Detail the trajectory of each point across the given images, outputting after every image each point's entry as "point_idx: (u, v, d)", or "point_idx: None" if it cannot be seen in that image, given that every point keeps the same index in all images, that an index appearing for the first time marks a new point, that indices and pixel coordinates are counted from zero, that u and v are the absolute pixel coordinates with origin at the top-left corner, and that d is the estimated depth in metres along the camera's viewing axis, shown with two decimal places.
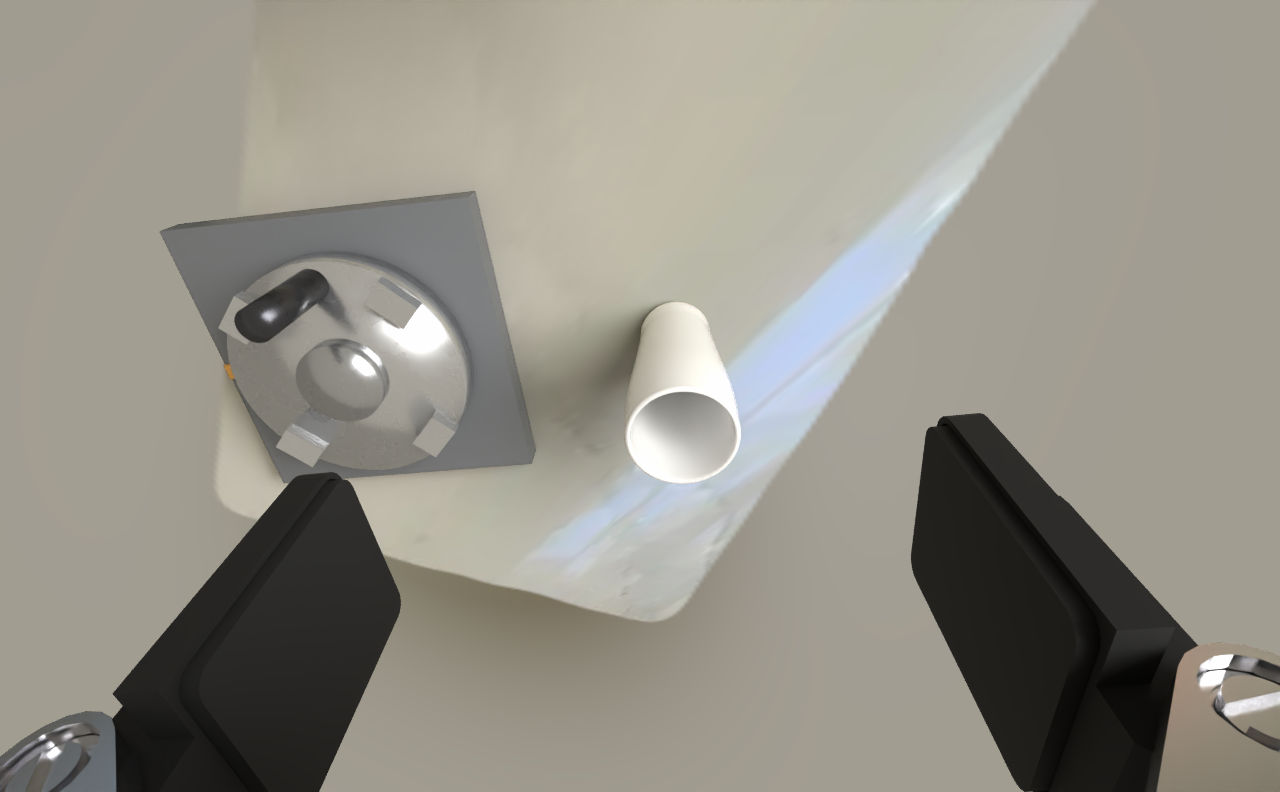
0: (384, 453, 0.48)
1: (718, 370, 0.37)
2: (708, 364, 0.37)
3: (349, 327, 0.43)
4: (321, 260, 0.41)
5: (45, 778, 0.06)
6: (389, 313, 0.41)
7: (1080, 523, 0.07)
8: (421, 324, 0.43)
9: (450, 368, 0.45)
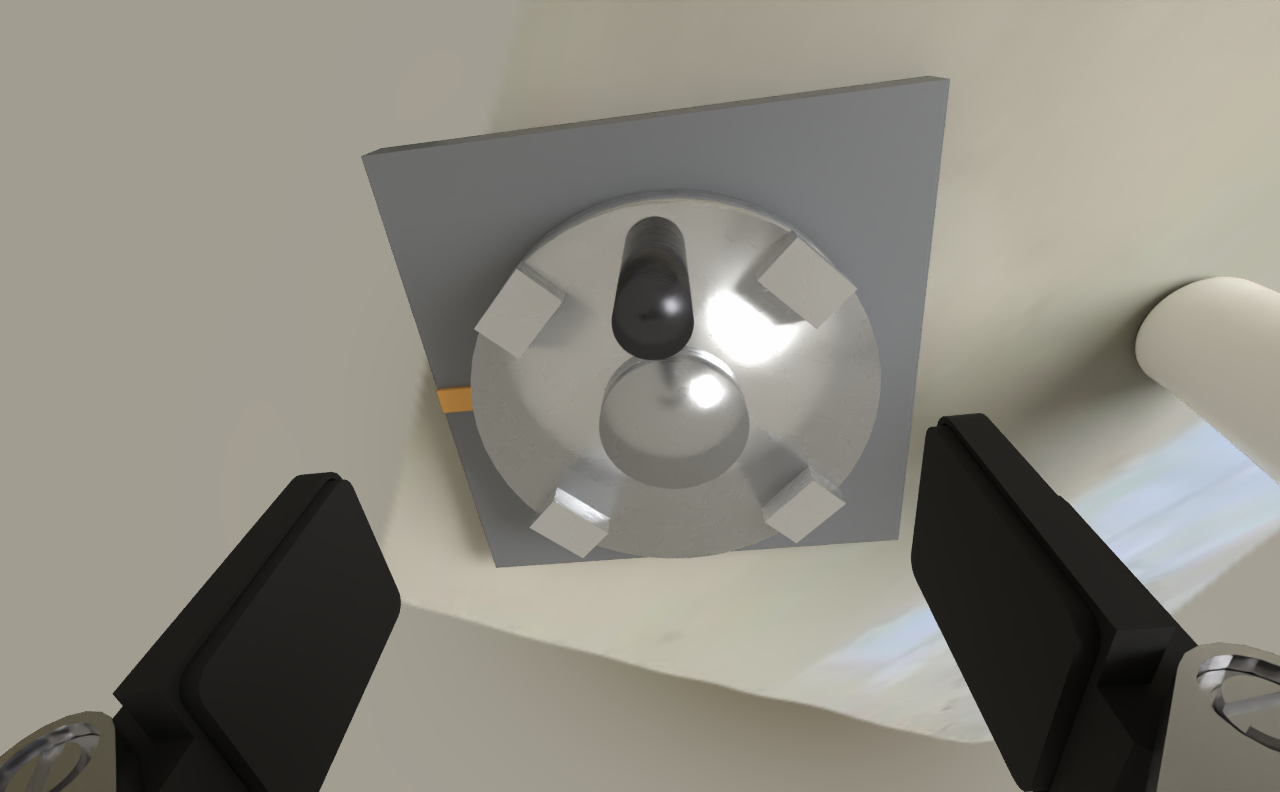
0: (697, 533, 0.29)
1: None
2: None
3: (699, 326, 0.24)
4: (675, 201, 0.22)
5: (45, 778, 0.06)
6: (801, 298, 0.22)
7: (1080, 523, 0.07)
8: (834, 319, 0.24)
9: (859, 396, 0.25)
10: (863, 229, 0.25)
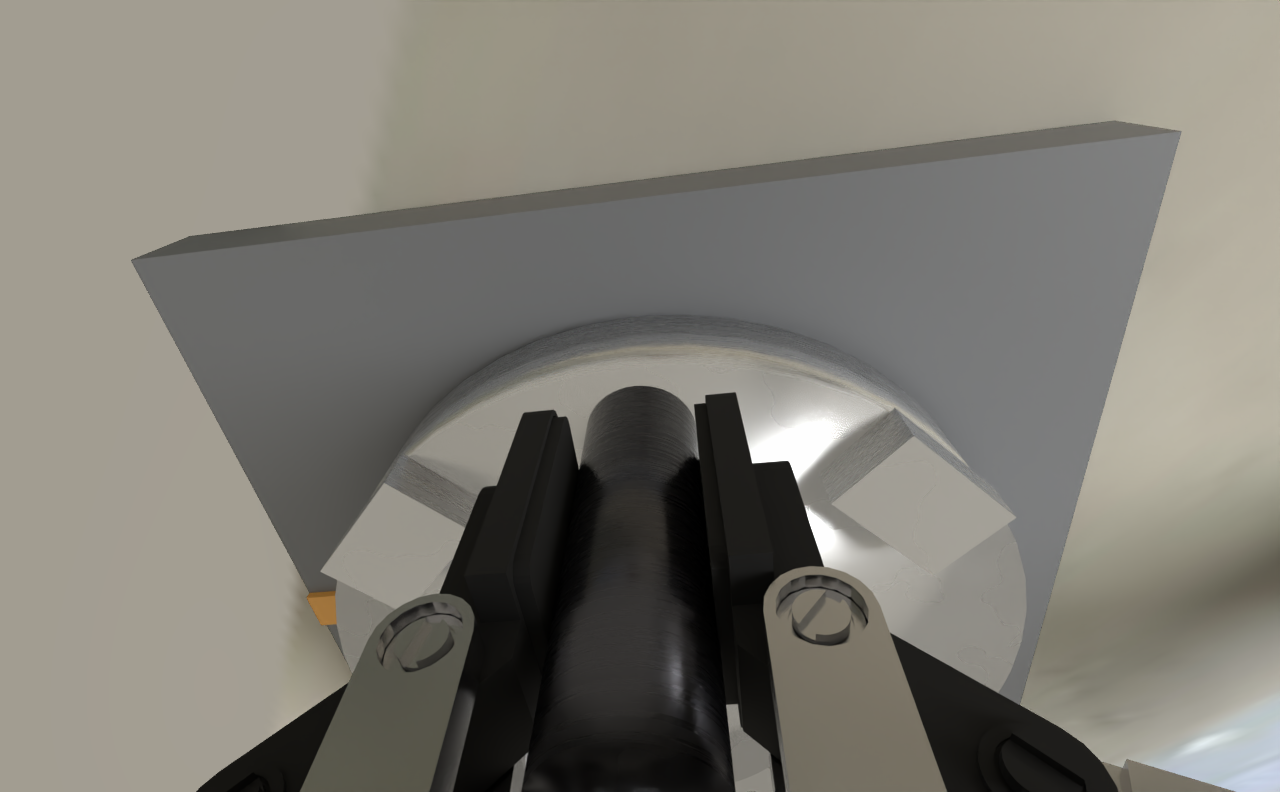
0: None
1: None
2: None
3: None
4: (679, 354, 0.12)
5: (423, 644, 0.07)
6: (910, 532, 0.12)
7: (752, 477, 0.08)
8: None
9: (985, 648, 0.15)
10: (994, 375, 0.15)
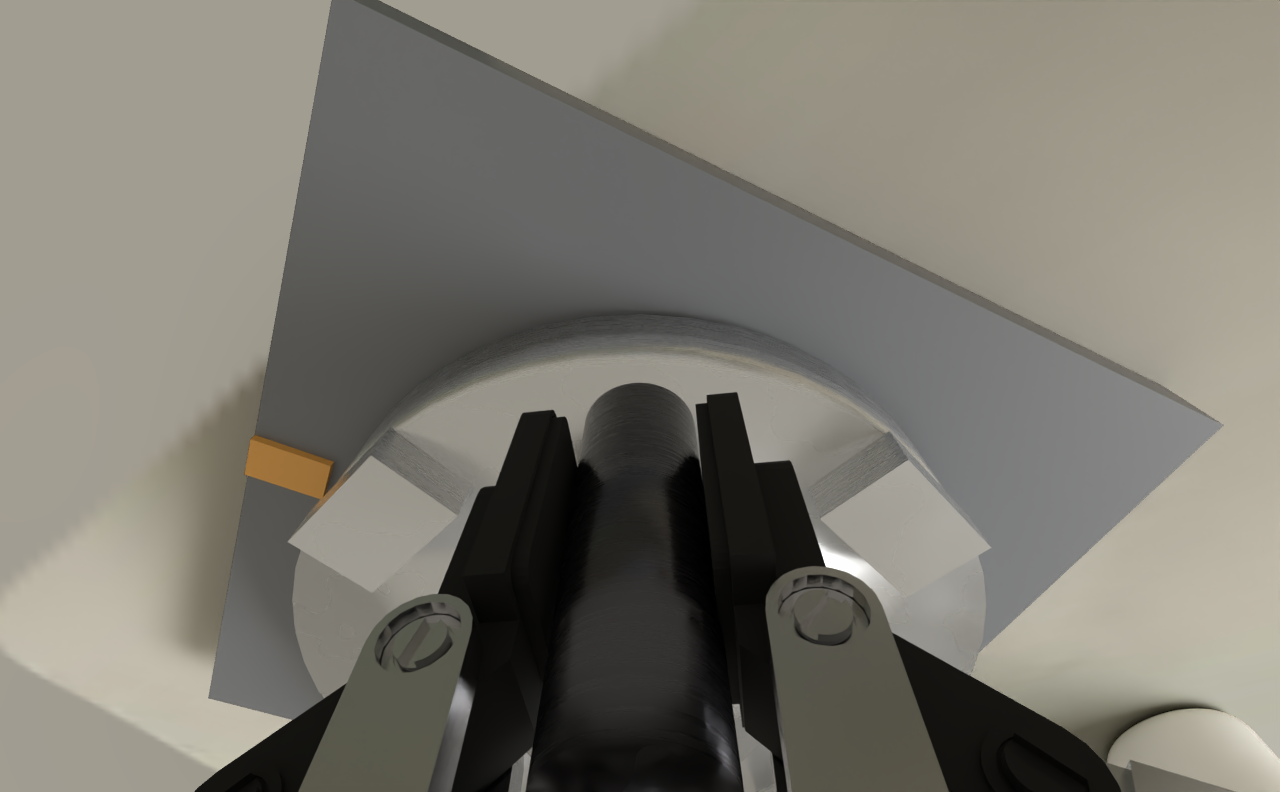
0: None
1: None
2: None
3: None
4: (686, 356, 0.12)
5: (421, 644, 0.07)
6: (890, 553, 0.12)
7: (754, 477, 0.08)
8: None
9: None
10: (999, 532, 0.17)
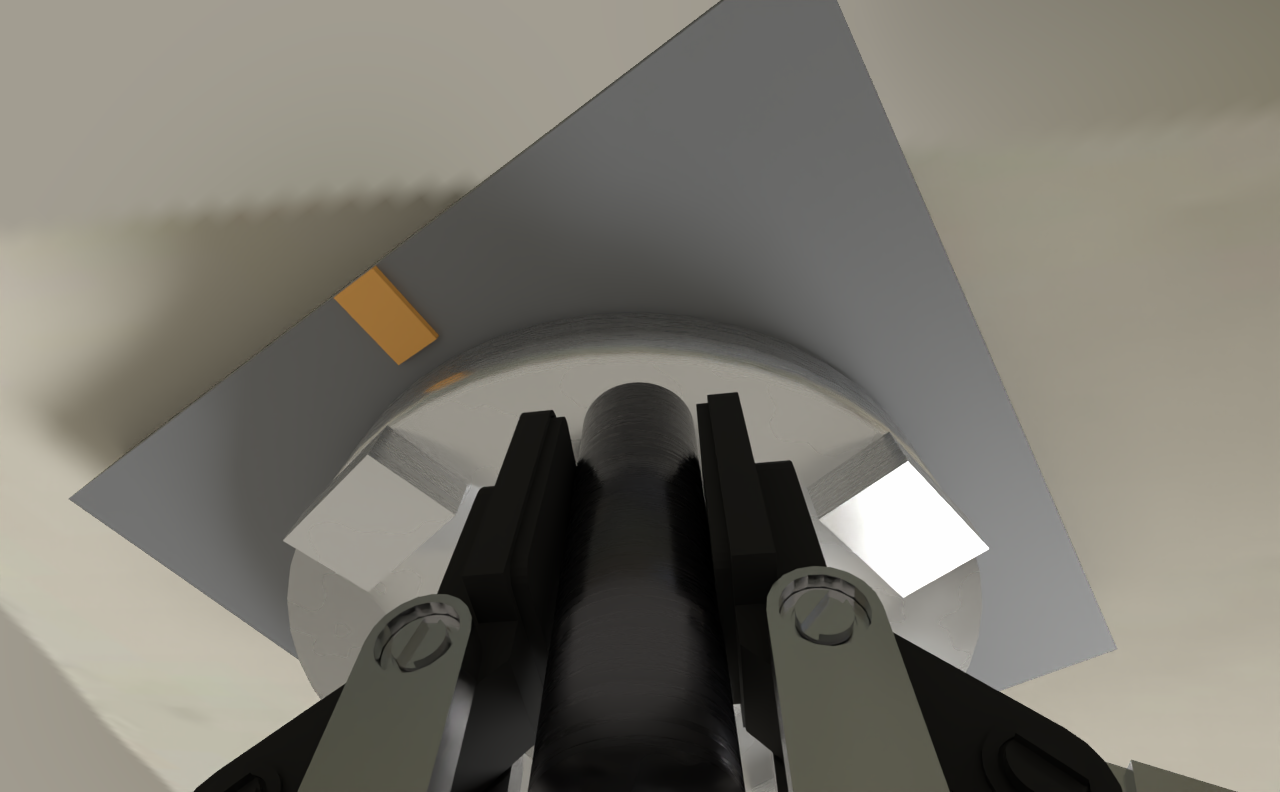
0: None
1: None
2: None
3: None
4: (686, 355, 0.12)
5: (420, 644, 0.07)
6: (888, 553, 0.12)
7: (755, 477, 0.08)
8: None
9: None
10: None
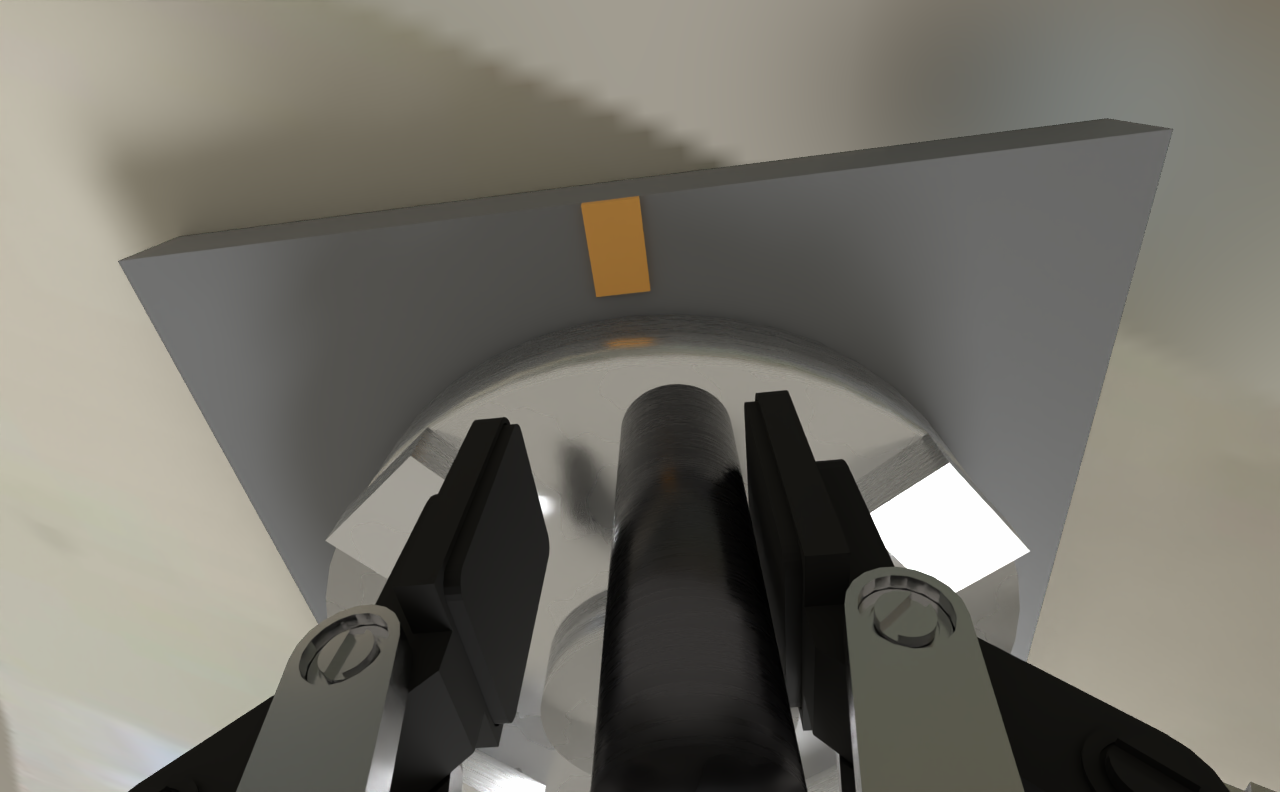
0: None
1: None
2: None
3: None
4: (724, 357, 0.12)
5: (347, 656, 0.07)
6: (927, 555, 0.12)
7: (818, 476, 0.08)
8: None
9: None
10: None
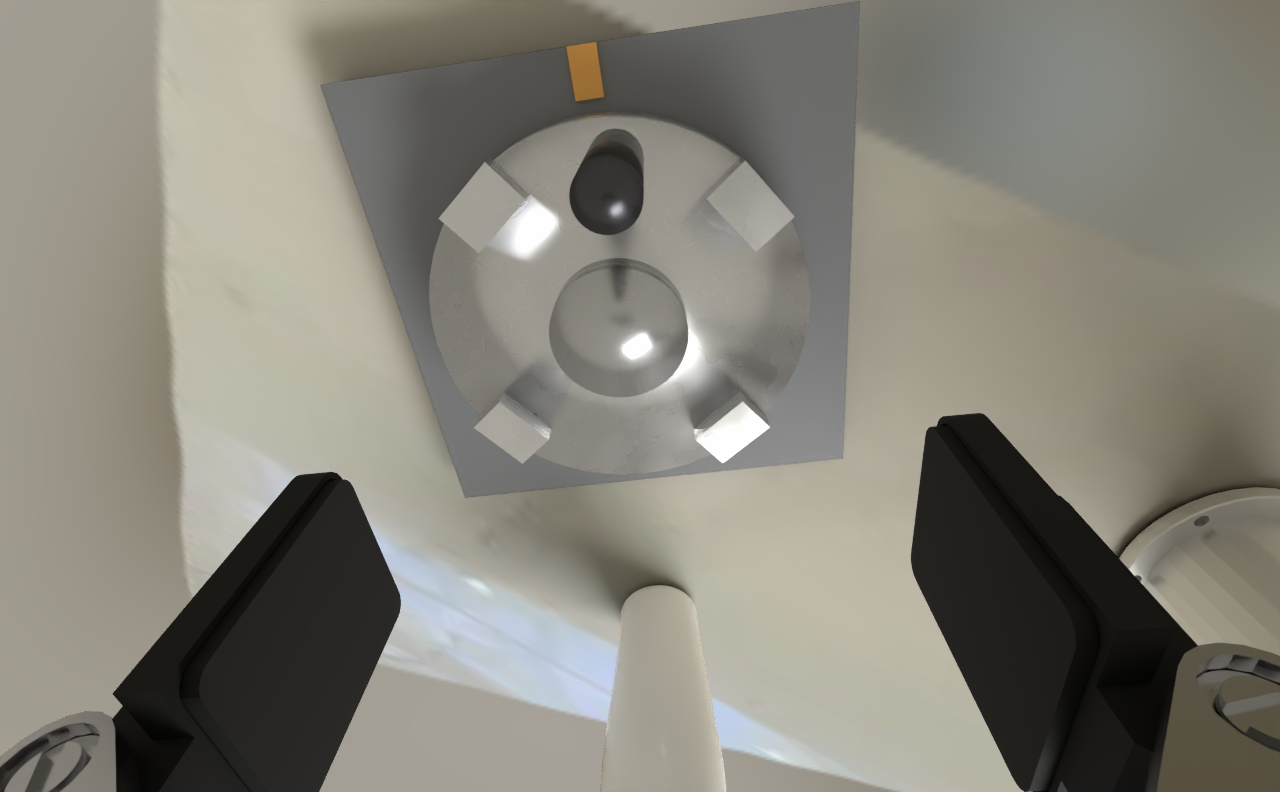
0: (632, 450, 0.31)
1: None
2: None
3: (651, 242, 0.26)
4: (638, 117, 0.24)
5: (45, 778, 0.06)
6: (744, 220, 0.24)
7: (1080, 523, 0.07)
8: (773, 247, 0.26)
9: (789, 325, 0.28)
10: None
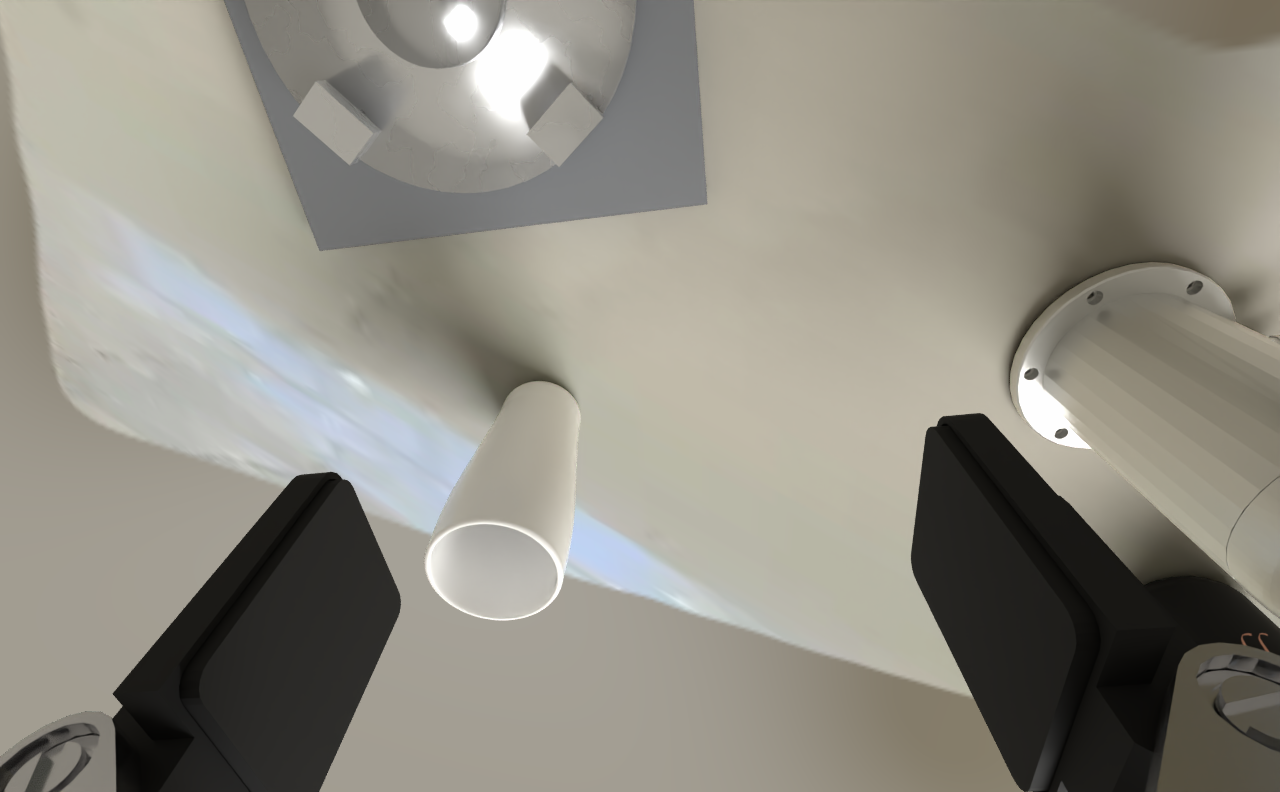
0: (469, 161, 0.30)
1: None
2: None
3: None
4: None
5: (45, 778, 0.06)
6: None
7: (1080, 523, 0.07)
8: None
9: None
10: (606, 163, 0.32)
